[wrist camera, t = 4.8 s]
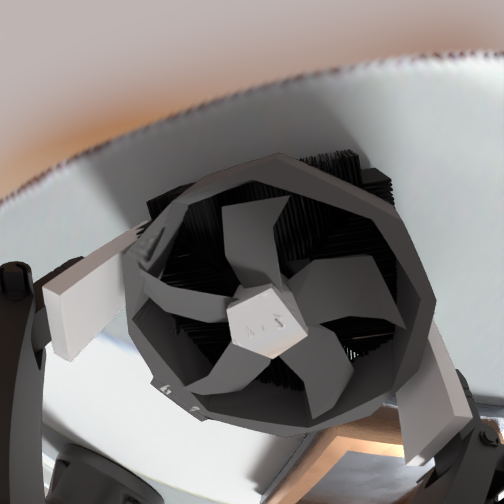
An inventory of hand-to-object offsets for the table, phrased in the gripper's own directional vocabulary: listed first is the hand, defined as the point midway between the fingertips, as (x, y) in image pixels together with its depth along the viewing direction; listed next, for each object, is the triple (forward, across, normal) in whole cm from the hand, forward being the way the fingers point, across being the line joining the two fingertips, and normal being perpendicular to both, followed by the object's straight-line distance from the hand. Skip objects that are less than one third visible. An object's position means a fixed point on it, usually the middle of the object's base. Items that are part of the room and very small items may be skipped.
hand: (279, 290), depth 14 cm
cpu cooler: (+1, 0, +1) cm, 2 cm away
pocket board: (+1, +12, -14) cm, 18 cm away
